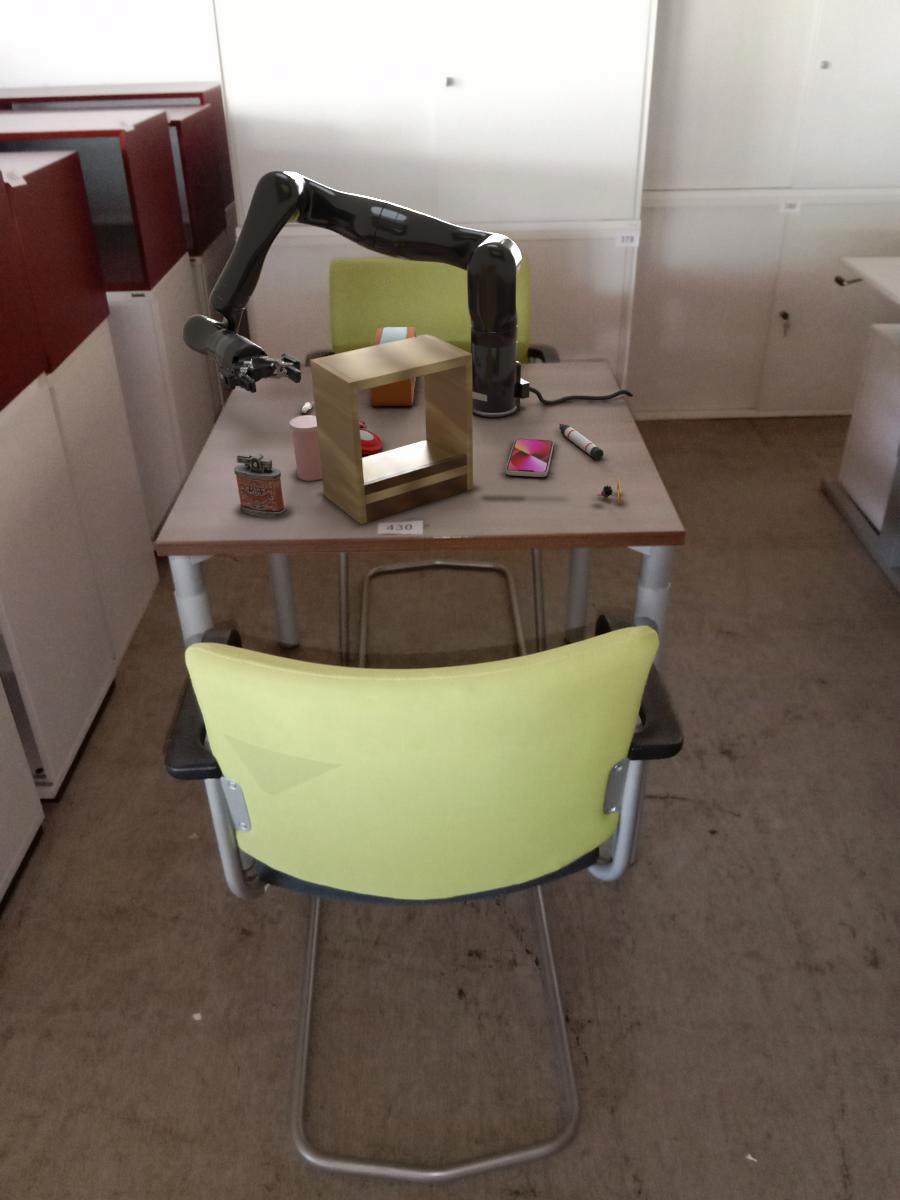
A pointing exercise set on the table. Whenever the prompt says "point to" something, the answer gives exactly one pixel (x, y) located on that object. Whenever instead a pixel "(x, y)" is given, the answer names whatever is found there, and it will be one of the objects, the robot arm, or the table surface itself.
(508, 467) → the smartphone
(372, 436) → the tracker holder
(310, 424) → the lidded canister
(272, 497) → the lighter
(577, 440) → the marker
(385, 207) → the robot arm
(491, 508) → the table surface
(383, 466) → the shelf
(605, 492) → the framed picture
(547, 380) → the table surface
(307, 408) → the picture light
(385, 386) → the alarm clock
